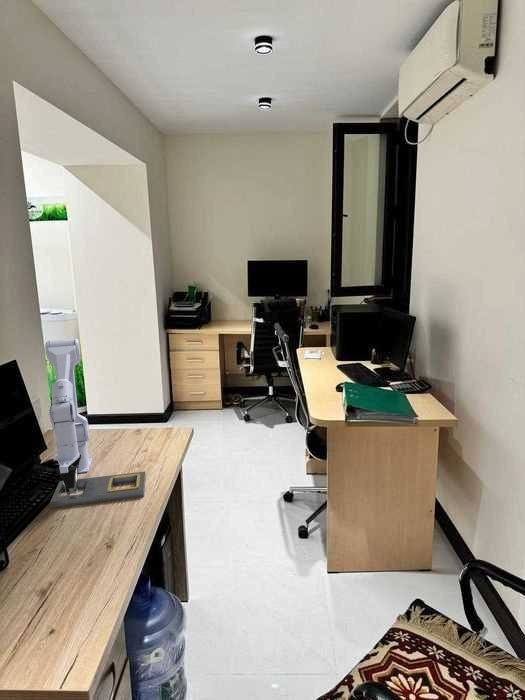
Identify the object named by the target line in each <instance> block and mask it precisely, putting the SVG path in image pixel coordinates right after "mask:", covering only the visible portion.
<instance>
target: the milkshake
mask: <svg viewBox="0 0 525 700" xmlns="http://www.w3.org/2000/svg"><path fill="white" fill-rule="evenodd" d="M77 466H78V465H77ZM77 479H78V478H77V469H76V473H75V485H74V488H70V489H66V487H65V484H64V482H63V484H64V489H65V490H64V493H65V496H71V495H79V490H78V489H79V488H78V484H77Z"/></svg>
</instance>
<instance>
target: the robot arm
mask: <svg viewBox="0 0 525 700" xmlns="http://www.w3.org/2000/svg"><path fill="white" fill-rule="evenodd" d="M45 355H46V358H47V361H48V363H50V365H51V366H53V367H54V373H55V380H56V381H54V382H53V383H52V385H51V405H50V406H49V410H48V412H49V414H48V415H49V419H50V422H51V428H52V430H53V432H54V440H55V445H56V446H55V447H56V455H54V457H53V461H57V462H58V465H59V466H57V467H56V469H55V471H56V473H57V474H58V475H59V477H60V478H61V481H63V482H64V484H65V487H66V489H70V488H74V485H75V473H76V469H77V479H78V476H79V474H80V473H88V472H89V470H90V467H91V464H92V461H93V458H92V457H91V458H90V456H89V449H88V448H89V447H88V442H89V441H90V427H89V426H90V425H89V422H88V421H89V420H88V418H86V417H85V416H83V415H81V414H80V413H79V410H78V408H79V407H78V397H77V388H76V379H75V378H76V377H75V369H76V366H77V365H78V364H80V363H81V357H82V356H81V345H80V341H79V339H78V338H67V339H55V340H46V342H45ZM77 465H78V466H77Z"/></svg>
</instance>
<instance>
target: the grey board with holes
mask: <svg viewBox="0 0 525 700" xmlns="http://www.w3.org/2000/svg"><path fill="white" fill-rule="evenodd" d="M146 477H147V474H146V471H137V472H129V473H121V474H111V475H104V476H94V477H93V476H92V477H87V478H85V477H84V478H79V479H78V478H77V484H78V489H84V488H85V489H84V492H83V493H80V494H79V493H78V494H77V495H71V496H66V495H64V496H62V494H63V491H65V489H64V484H63V480H59V482H58V484H57V486H56V489H55V490H54V493H53V495H52V496H51V497H52V498H51V499H50V502H49V503H50V509H55V508H62V507H71V506H80V505H88V504H95V503H103V502H110V501H119V500H120V501H121V500H128V499H136V498H142V497H145V491H146V490H145V489H146ZM127 483H136V485H135V486H132V487H131V486H129V487H122V488H115V489H113V488H114V485H119V484H127Z"/></svg>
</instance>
